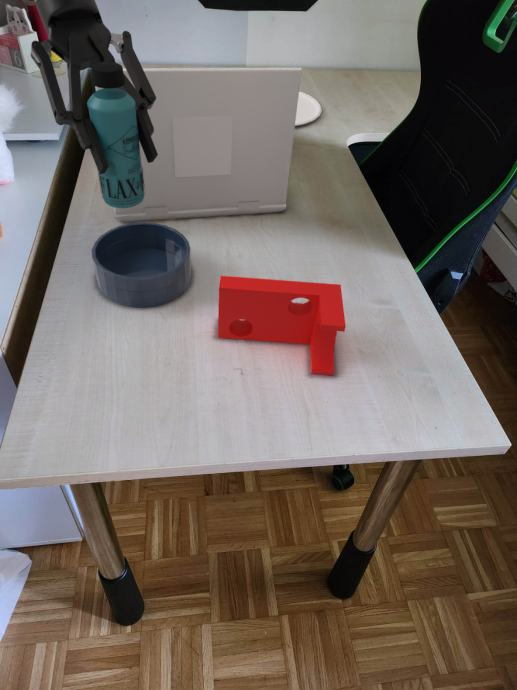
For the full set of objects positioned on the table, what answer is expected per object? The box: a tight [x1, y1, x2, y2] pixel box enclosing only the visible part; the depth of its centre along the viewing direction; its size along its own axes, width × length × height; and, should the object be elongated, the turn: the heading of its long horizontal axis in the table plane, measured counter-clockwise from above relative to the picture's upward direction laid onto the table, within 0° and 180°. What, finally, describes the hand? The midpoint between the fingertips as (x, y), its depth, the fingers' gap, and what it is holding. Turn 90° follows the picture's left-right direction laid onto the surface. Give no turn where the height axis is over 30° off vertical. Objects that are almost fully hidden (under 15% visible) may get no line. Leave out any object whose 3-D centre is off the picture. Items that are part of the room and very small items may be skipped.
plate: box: [295, 90, 323, 127], centre depth 147 cm, size 29×29×1 cm
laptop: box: [94, 67, 303, 223], centre depth 104 cm, size 35×26×28 cm
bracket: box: [217, 275, 347, 376], centre depth 78 cm, size 18×10×10 cm
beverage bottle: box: [86, 62, 145, 208], centre depth 72 cm, size 6×7×20 cm
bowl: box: [91, 221, 192, 308], centre depth 89 cm, size 16×16×6 cm
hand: (129, 164), depth 71 cm, fingers closed on beverage bottle, 6 cm apart
